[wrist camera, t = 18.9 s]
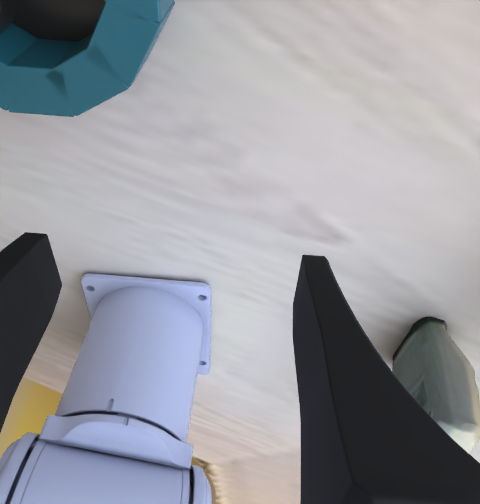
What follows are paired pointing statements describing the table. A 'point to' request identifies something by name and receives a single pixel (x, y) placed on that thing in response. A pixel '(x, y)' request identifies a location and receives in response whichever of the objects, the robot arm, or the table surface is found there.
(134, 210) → the table surface
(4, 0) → the dark grey round knob
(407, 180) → the table surface
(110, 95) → the ring
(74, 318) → the table surface
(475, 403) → the grey-green upright box
